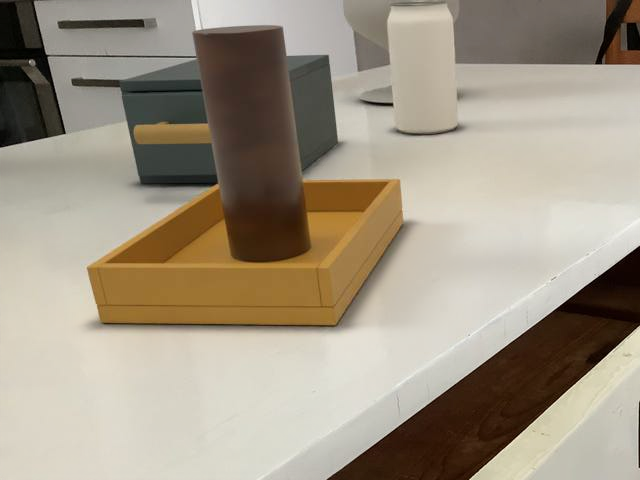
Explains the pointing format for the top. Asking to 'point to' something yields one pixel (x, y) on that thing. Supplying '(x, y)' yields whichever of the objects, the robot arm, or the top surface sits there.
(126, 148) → the top surface
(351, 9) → the chalice
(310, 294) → the tray
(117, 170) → the top surface
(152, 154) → the drawer
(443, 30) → the can
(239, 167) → the brown cylinder
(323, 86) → the cabinet
